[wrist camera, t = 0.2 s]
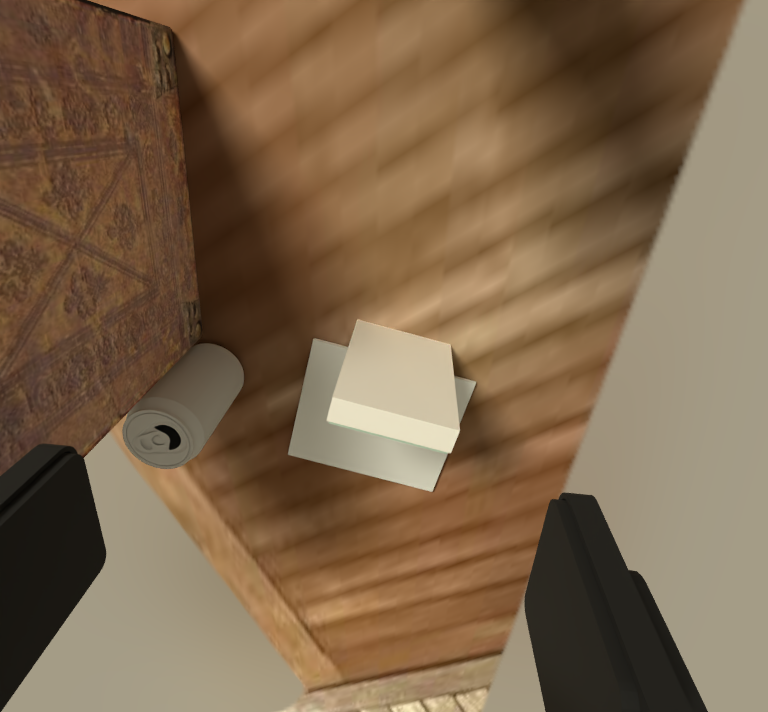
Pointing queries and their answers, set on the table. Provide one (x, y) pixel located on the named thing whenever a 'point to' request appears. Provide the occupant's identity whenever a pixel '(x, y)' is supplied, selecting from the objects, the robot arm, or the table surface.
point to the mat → (356, 447)
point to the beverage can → (183, 407)
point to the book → (88, 221)
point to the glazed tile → (397, 388)
